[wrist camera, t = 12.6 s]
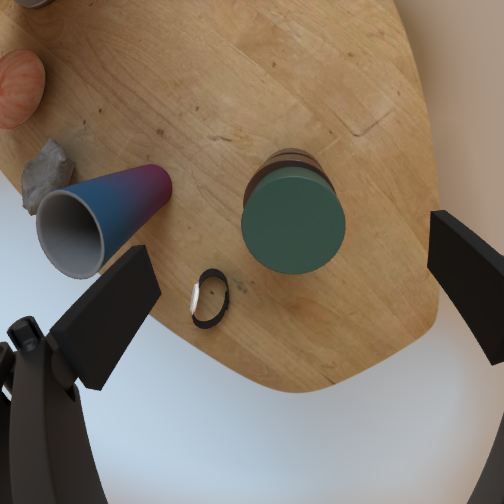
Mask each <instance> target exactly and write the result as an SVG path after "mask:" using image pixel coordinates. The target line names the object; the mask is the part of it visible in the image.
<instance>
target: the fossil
mask: <svg viewBox="0 0 504 504" xmlns="http://www.w3.org/2000/svg"><path fill="white" fill-rule="evenodd" d="M74 168H75V163H74V162H73V161H71V160H70V159H69V158H68V157H67V155H66V153H65V151H64V149H63V148H62V147H60V146H59V145H58V144H57V142H56V141H55V140H54V139H52V138H49V139H48V141H47V142H46V143H45V145H44V146H43V148H42V149H41V150H40V152H39V153H38V154H37V156H36V157H35V158H34V159H33V160H31V161H30V162H28V163H26V165H25V168H24V171H23V174H22V195H23V207H24V208H25V209H27V210H28V212H29V214H30V215H31V216H32V215H36V214H37V211H38V208H39V205H40V203H41V201H42V200H43V199H44V197H45V196H46V195H48V194H49V193H50V192H53V191H55V190H58V189H61V188H64V187H68V186H69V182H70V179H71V176H72V173H73V170H74Z"/></svg>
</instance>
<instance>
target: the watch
mask: <svg viewBox="0 0 504 504" xmlns="http://www.w3.org/2000/svg"><path fill="white" fill-rule="evenodd" d="M212 276H213V277H219V278H220V279H222V280H223V281H224V282H225V284H226V286H227V292H226V293H225V300H224V304H223V306H222V309H221V311H220V312H219V314H218V315H217V316H216V317H214V318H213V319H211V320H209V321H199V320H197V319H196V318H195V316H194V311H195V309H196V306H197V301H198V296H199V288H200V286H201V284H202V282H203V281H204V280H205V279H207V278H208V277H212ZM228 304H229V289H228V283H227V279H226V277H225V275H224V274H223V273H222V272H221V271H219V270H217V269H208V270H206V271H204V272H203V273H202V275H201V276H200V279H199V281H198V284H195V285H194V288H193V292H192V298H191V304H190V311H192V318H193V322H194V324H195V325H196V326H197V327H199V328H202V329H208V328H211V327H213V326H215V325H216V324H218V323H219V322H220V320H221V319H222V317H223V316H224V313H225V310H227V309H228Z"/></svg>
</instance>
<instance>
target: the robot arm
mask: <svg viewBox="0 0 504 504" xmlns="http://www.w3.org/2000/svg"><path fill="white" fill-rule="evenodd" d="M14 1H15V2H16V3H18V4H19V5H21V6H23V7H27V8H33V9H34V8H40V7H43V6H45V5H47V4H49V3H51V2H52V1H54V0H14ZM427 268H428V269H429V270H430V272H431V273H432V274H433V276H434V277H435V278H436V280H437V281H438V282H439V284H440V285H441V286H442V288H443V289H444V291H445V292H446V294H447V295H448V296H449V298H450V299H451V301H452V302H453V304H454V305H455V307H456V308H457V309H458V311H459V313H460V314H461V316H462V317H463V319H464V320H465V322H466V323H467V325H468V327H469V328H470V330H471V331H472V333H473V334H474V336H475V338H476V339H477V341H478V343H479V344H480V346H481V348H482V349H483V351H484V353H485V354H486V356H487V358H488V360H489V361H490V363H491V365H495V364H498V363H501V362H504V256H503V255H501V254H499V253H498V252H497V251H496V250H494V249H493V248H492V247H491V246H490V245H489V244H487V243H486V242H485V241H484V240H482V239H481V238H480V237H479V236H478V235H477V234H475V233H474V232H473V231H472V230H470V229H469V228H468V227H466V226H465V225H464V224H463V223H461V222H460V221H459V220H457V219H456V218H455V217H453V216H452V215H451V214H449V213H448V212H447V211H445V210H439V211H431V216H430V237H429V252H428V263H427ZM161 294H162V293H161V290H160V288H159V285H158V282H157V279H156V276H155V273H154V270H153V267H152V264H151V261H150V258H149V255H148V252H147V249H146V246H145V245H138V246H132V247H131V248H130V249H129V250H128V251H126V252H125V253H124V254H123V255H122V256H121V257H120V258H119V259H118V260H117V261H116V262H115V263H114V264H113V265H112V266H111V267H110V268H109V269H108V270H107V271H106V272H105V273H104V274H103V275H102V276H100V277H99V279H98V280H96V282H95V283H93V284H92V285H91V286H90V287H89V289H88V290H87V291H86V292H85V293H84V294H83V295H82V296H81V297H80V298H79V299H78V300H77V301H76V302H75V303H74V304H73V305H72V306H71V307H70V308H69V309H68V310H67V311H66V312H65V314H64V315H63V316H62V317H61V318H60V319H59V320H58V321H57V322H56V323H55V324H54V326H53V327H52V328H51V329H50V332H49V333H48V334H47V335H46V337H45V336H44V335H43V333H42V331H41V330H40V328H39V326H38V324H37V322H36V320H35V319H34V317H32V316H26V317H23V318H21V319H19V320H17V321H16V322H15V323H14V324H12V325H11V326H10V327H9V329H8V331H7V334H8V336H9V337H10V339H11V341H12V342H13V344H14V345H15V347H16V349H17V350H18V351H15V352H13V351H12V349H11V347H10V346H9V344H8V343H7V342H0V504H108V502H107V499H106V497H105V494H104V491H103V488H102V485H101V482H100V479H99V475H98V472H97V469H96V466H95V462H94V458H93V455H92V451H91V447H90V443H89V439H88V435H87V430H86V426H85V421H84V416H83V412H82V406H81V400H80V395H79V390H78V387H77V386H76V384H75V383H74V382H75V381H76V379H77V378H78V377H79V379H80V380H81V382H82V383H83V384H84V386H85V387H86V388H88V389H93V390H99V391H101V390H102V388H103V386H104V384H105V383H106V381H107V380H108V378H109V376H110V375H111V373H112V371H113V370H114V368H115V366H116V365H117V363H118V361H119V360H120V358H121V356H122V355H123V353H124V352H125V350H126V348H127V346H128V345H129V344H130V342H131V340H132V339H133V337H134V336H135V334H136V333H137V331H138V329H139V328H140V326H141V325H142V323H143V322H144V320H145V318H146V317H147V315H148V314H149V312H150V311H151V309H152V308H153V306H154V305H155V303H156V302H157V300H158V299H159V297H160V296H161ZM3 385H4V386H5V388H6V389H7V390H8V391H9V393H10V394H11V395H12V398H11V401H10V400H9V399H8V398H7V397H6V396H5V394H4V393H3V392H2V387H3ZM467 504H504V413H503V417H502V420H501V423H500V426H499V429H498V432H497V435H496V438H495V441H494V444H493V446H492V449H491V452H490V455H489V457H488V459H487V462H486V464H485V467H484V469H483V471H482V473H481V476H480V478H479V480H478V482H477V484H476V486H475V488H474V491H473V493H472V495H471V496H470V499H469V500H468V502H467Z"/></svg>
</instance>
